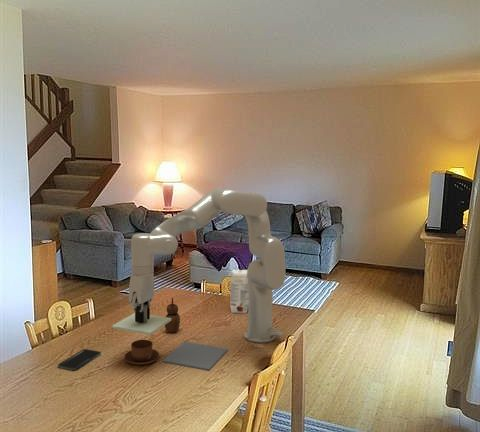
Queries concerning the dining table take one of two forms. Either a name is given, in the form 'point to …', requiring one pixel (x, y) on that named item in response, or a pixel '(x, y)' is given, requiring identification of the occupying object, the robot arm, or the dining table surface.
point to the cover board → (146, 327)
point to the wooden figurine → (173, 314)
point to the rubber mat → (195, 355)
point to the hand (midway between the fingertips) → (142, 319)
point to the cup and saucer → (141, 353)
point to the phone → (79, 360)
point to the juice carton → (239, 291)
